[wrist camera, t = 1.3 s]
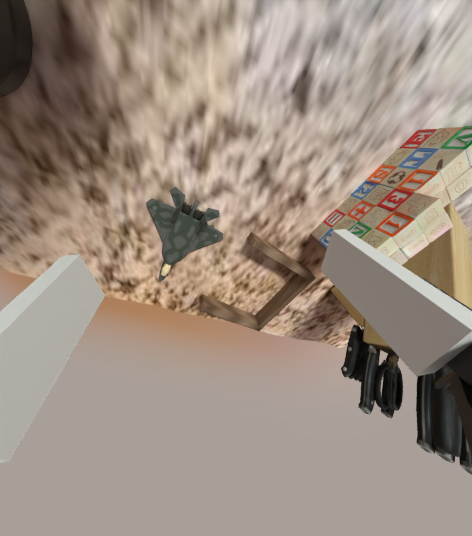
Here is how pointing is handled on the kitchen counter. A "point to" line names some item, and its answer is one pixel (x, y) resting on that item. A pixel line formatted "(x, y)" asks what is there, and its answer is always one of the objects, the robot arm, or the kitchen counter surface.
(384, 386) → the knife block
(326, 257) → the robot arm
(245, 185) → the kitchen counter surface
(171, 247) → the fighter jet
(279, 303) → the brown wooden bracket
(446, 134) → the stack of blocks
